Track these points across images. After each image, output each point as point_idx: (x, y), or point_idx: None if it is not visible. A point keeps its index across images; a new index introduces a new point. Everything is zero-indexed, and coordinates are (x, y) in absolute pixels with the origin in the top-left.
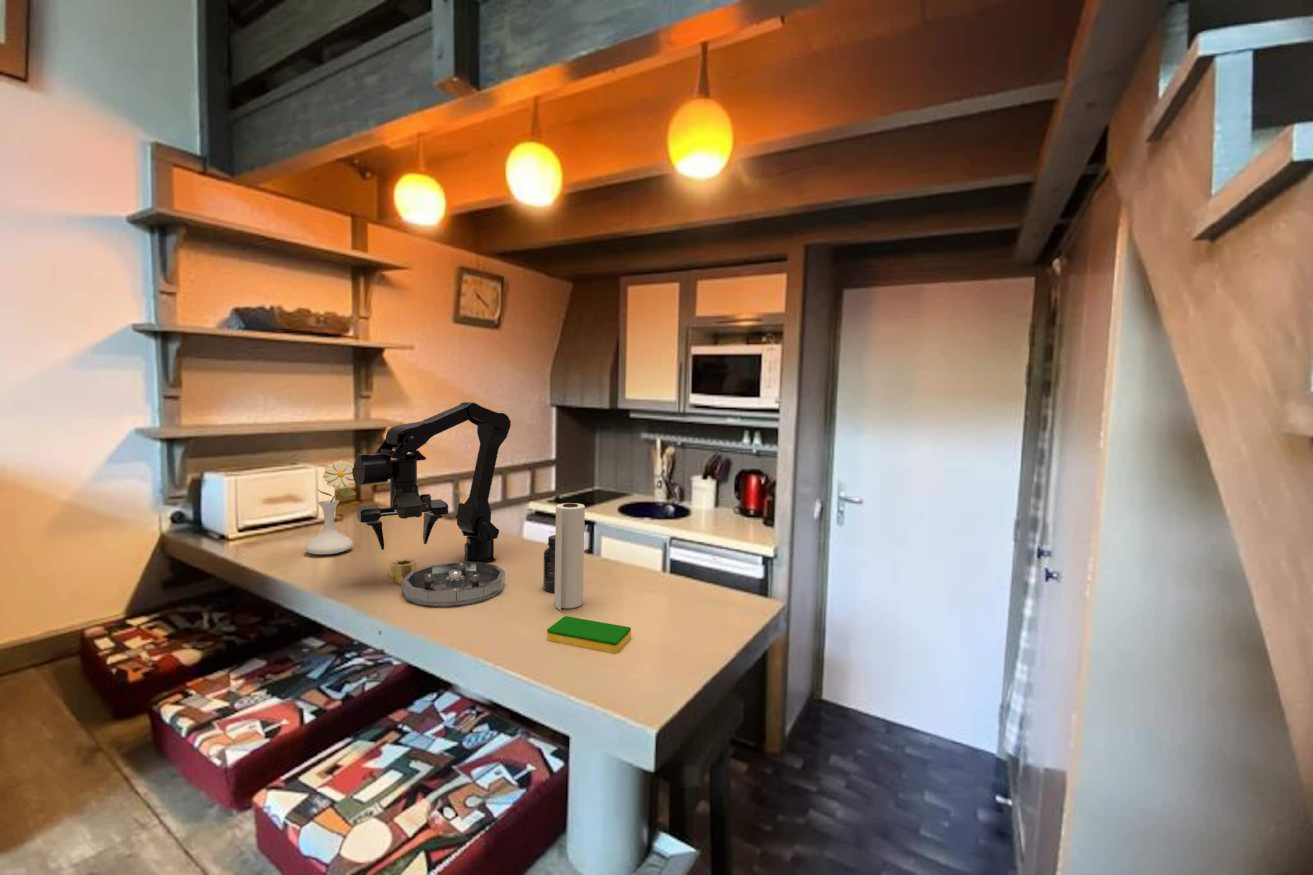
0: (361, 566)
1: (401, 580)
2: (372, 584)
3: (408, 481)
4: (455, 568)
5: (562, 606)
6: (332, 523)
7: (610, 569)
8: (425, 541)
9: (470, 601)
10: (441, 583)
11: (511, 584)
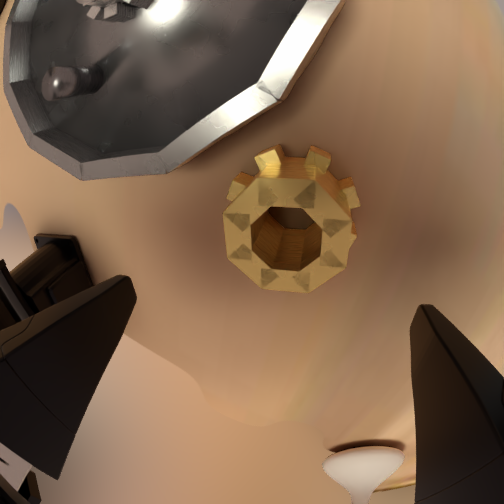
0: (362, 386)
1: (319, 150)
2: (416, 215)
3: None
4: (93, 155)
5: None
6: (357, 502)
7: None
8: (112, 283)
9: None
10: (168, 10)
11: None
